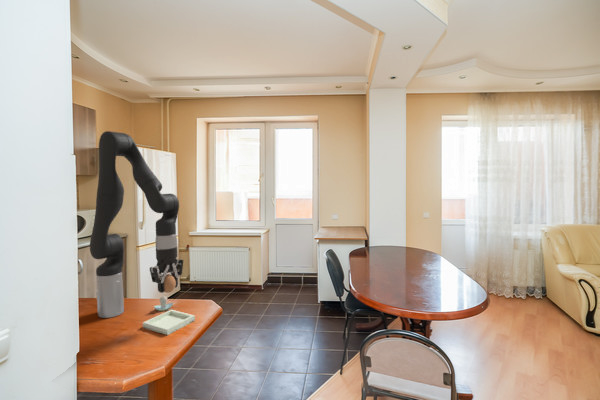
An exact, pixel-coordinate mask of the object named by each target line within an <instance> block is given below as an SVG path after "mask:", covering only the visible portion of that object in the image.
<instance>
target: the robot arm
mask: <svg viewBox="0 0 600 400" xmlns="http://www.w3.org/2000/svg"><path fill="white" fill-rule="evenodd" d="M117 157H123V158H125V159H126V160H127V161H128V162H129V163H130V165H131V168H132V177H133V180H134V182H135V183H136V184H137V186H138V187H139V188H140V189H141V191H142V192H143V194H144V197H145V199H146V201H147V204H148V206H149V208H150V209H151V210H152V211H153V212H154V213H156V214H162V216H161V218H159V219H158V220H156V221H155V259H156V261H157V262H156V265H154V266H151V267H149V272H150V277H151V280H152V281H151V282H152V283H156V284H157V292H158V293H162V294H163V293H165V292H164V283H163V282H164V278H165V277H166V275H167V274H170V275H172V276H173V277H174V279H175V281H176V286H175V288H174V289H176V288H177V287H178V284H179V280H178V279H179V276H181V275H182V274H183V268H184V259H179V258H178V240H177V239H178V238H177V227H176V224H177V223H176V222H177V219H178V213H179V210H180V201H179V198H178V197H177V195H176V194H174V193H161V191H162V189H163V185H162V183H161V181H160V180H159V179H158V177H157V176H156V175H155V173H154V172H153V171H152V169H151V168H150V167H149V165H148V163H146V161H145V159H144V157H143V155H142V153H141V151H140V150H139V147H138V146H137V144H136V142H135V140H134V139H133V138H132V136H130V135H129V134H128V133H123V132H118V131H117V132H116V131H110V130H109V131H108V130H106V131H104V132H102V134H101V135H100V138H99V140H98V181H97V182H98V183H97V188H96V189H97V191H96V202H95V203H96V204H95V213H94V219H93V220H94V221H93V228H92V231H91V236H90V241H89V253H90V255H91V257H92V258H93V259H95V260H103V259H105V260H104V262H102V263H101V264H100V265H98V266H97V267H96V269H95V274H96V275H95V276H96V307H97V309H96V310H97V315H98V317H99V318H103V319H105V318H106V319H107V318H108V319H109V318H114V317H117V316H119V315H120V316H121V314H123V313H124V312H125V304H124V284H123V283H124V282H123V267H124V261H125V260H124V255H125V254H124V253H125V248H124V245H125V244H124V240H123V238H122V236H121V235H120V234H118V233H109V230H110V226H111V224H112V222H113V221H114V219H115V218H116V217H117V215H118V214H119V212H120V211H121V209H122V208H123V204H124V198H125V197H124V196H125V188H124V185H123V183H122V180H121V179H120V177H119V174H118V173H117V169H116V160H117Z"/></svg>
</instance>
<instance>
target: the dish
mask: <svg viewBox="0 0 600 400" xmlns="http://www.w3.org/2000/svg"><path fill="white" fill-rule="evenodd" d="M195 321H196V315H194V314H190V313H186V312H182V311H180V310H179V311H178V310H175V309H174V310H173V309H168V310H166V311H165V312H163V313H161V314H159V315H156V316H154V317H152V318H150V319H147V320H145V321H143V322H142V328H143V329H146V330H149V331H153V332H156V333H159V334H162V335H165V336H168V335H171V334H173V333H174V332H176V331H178V330H180V329H182V328H184V327H186V326H187V325H189V324H191V323H193V322H195Z"/></svg>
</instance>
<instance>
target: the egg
mask: <svg viewBox="0 0 600 400" xmlns="http://www.w3.org/2000/svg"><path fill="white" fill-rule="evenodd" d="M163 283H164V292H163V293H167V294H169V293H172V292H173V291H174V290H175V289H176V288H175V286H176V281H175V279H174V277H173V276H172V275H171V274H170V273H167V275H166V277H165V278H164V282H163Z"/></svg>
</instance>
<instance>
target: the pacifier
mask: <svg viewBox="0 0 600 400" xmlns="http://www.w3.org/2000/svg"><path fill="white" fill-rule="evenodd" d="M167 302H168V298H167V296H165V295H164V296H161V297H160V298H159V303H160V304H159V305H154V306H153V307H154V310H156V311H159V312H164V311H165V312H166V311H169V310H170V308H172V306H173V305H174V303H173V302H170V303H167Z"/></svg>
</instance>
